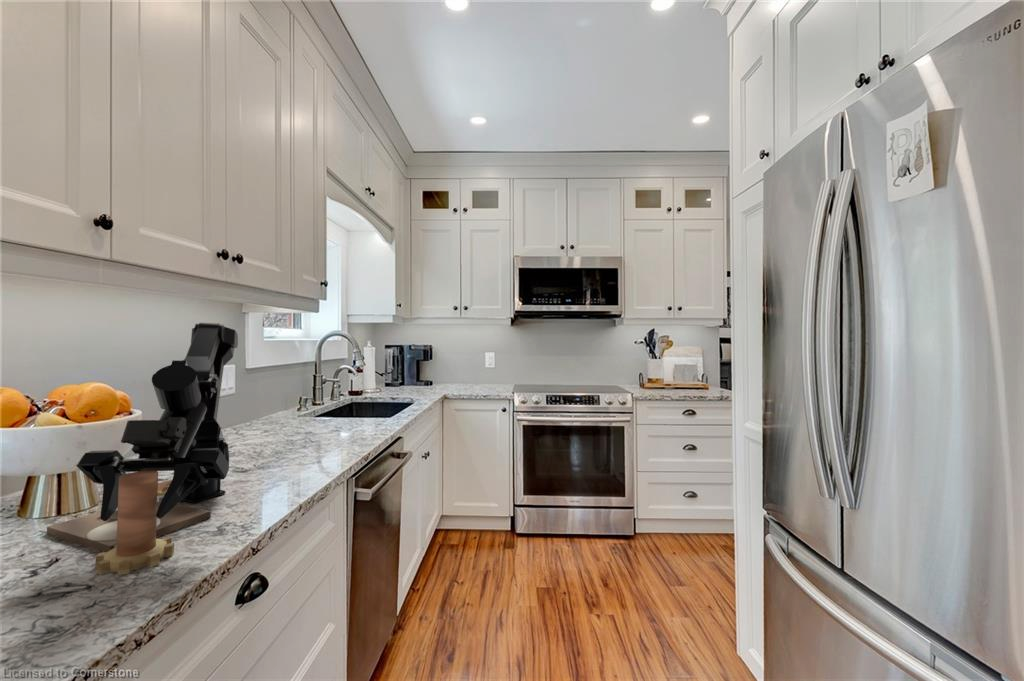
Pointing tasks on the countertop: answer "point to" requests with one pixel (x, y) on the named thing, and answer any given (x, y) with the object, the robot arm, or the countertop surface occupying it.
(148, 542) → the gear spindle
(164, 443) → the robot arm
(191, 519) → the gear board
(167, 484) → the shard
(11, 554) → the countertop surface
